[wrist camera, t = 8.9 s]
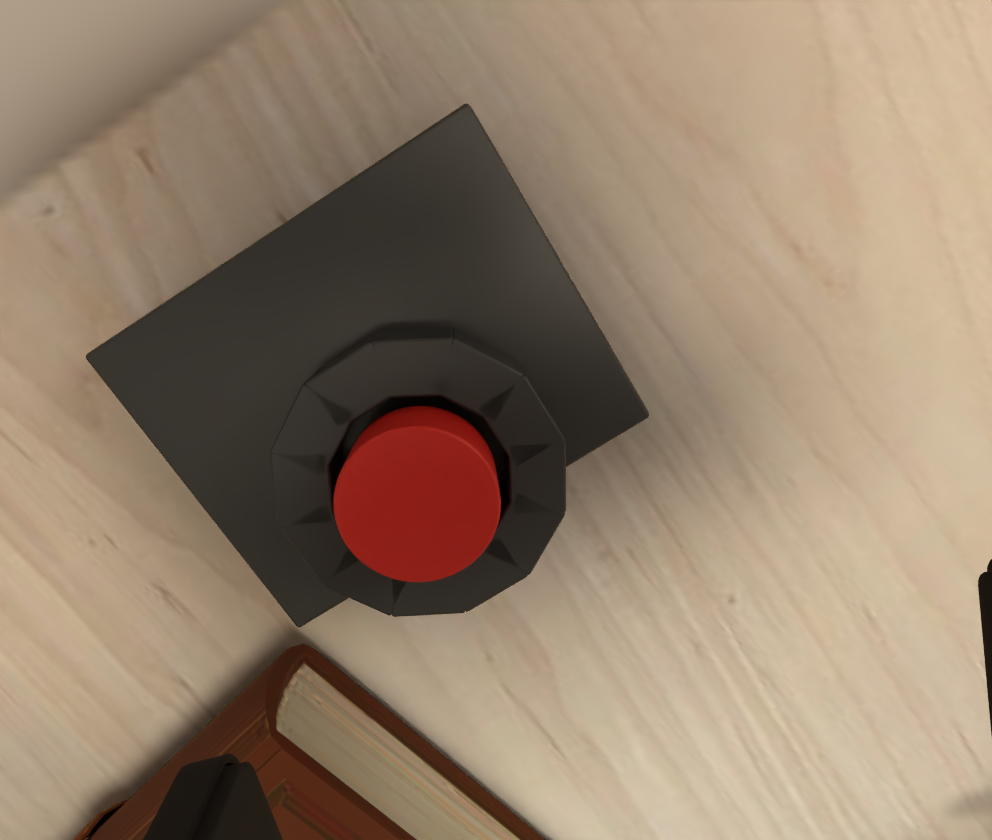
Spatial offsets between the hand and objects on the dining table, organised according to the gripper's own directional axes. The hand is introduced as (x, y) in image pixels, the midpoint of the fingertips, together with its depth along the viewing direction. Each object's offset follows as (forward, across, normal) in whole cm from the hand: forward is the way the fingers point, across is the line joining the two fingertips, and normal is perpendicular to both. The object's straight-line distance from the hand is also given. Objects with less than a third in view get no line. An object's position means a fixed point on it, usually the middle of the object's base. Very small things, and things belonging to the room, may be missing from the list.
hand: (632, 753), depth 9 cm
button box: (+11, +3, -4) cm, 12 cm away
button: (+7, +3, -2) cm, 8 cm away
